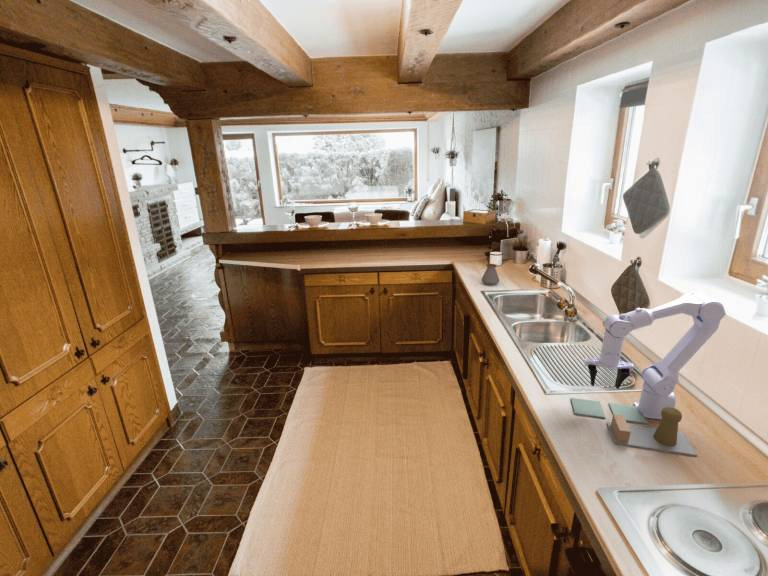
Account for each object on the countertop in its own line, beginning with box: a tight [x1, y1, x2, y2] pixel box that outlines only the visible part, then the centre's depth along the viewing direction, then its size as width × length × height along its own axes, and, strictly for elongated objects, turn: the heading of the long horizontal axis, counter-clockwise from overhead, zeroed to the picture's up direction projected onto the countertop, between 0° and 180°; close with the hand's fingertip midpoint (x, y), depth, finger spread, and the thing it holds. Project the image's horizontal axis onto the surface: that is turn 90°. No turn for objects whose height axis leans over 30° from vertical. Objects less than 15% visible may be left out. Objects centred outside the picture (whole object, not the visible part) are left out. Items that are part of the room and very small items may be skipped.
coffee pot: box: [481, 255, 500, 287], centre depth 267 cm, size 21×12×15 cm, turn 177°
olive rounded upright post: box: [653, 407, 683, 446], centre depth 123 cm, size 6×6×11 cm
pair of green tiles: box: [570, 397, 648, 425], centre depth 139 cm, size 22×9×1 cm, turn 75°
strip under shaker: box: [606, 413, 698, 457], centre depth 126 cm, size 22×10×5 cm, turn 75°
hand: (604, 385), depth 138 cm, fingers open, 7 cm apart
